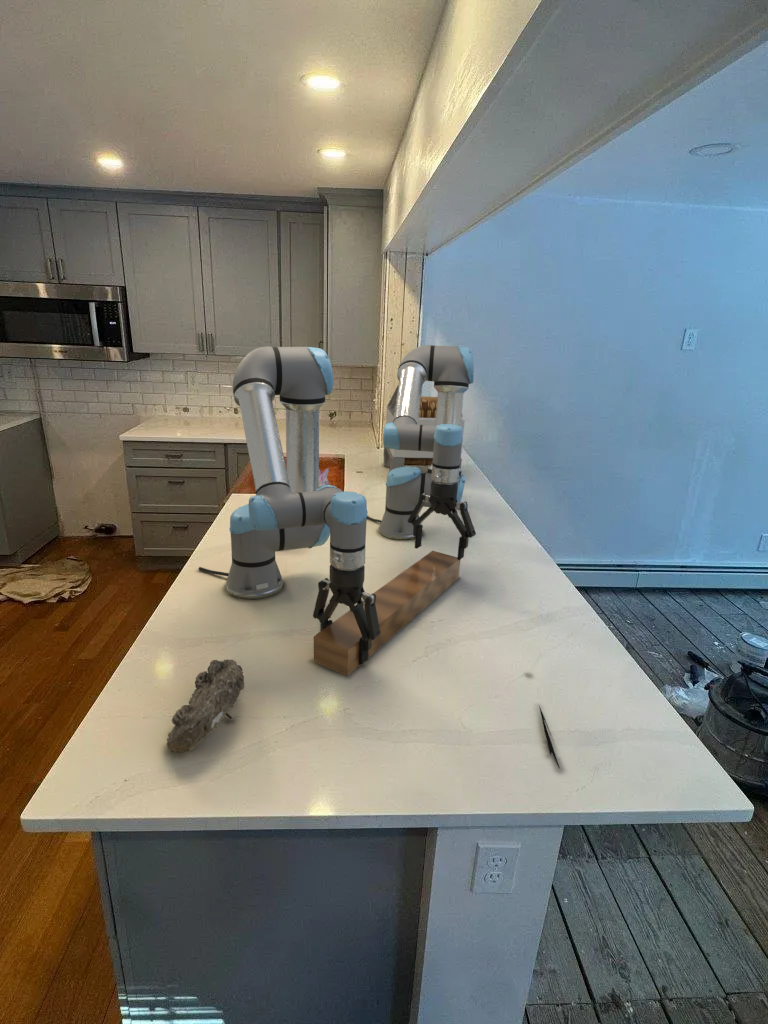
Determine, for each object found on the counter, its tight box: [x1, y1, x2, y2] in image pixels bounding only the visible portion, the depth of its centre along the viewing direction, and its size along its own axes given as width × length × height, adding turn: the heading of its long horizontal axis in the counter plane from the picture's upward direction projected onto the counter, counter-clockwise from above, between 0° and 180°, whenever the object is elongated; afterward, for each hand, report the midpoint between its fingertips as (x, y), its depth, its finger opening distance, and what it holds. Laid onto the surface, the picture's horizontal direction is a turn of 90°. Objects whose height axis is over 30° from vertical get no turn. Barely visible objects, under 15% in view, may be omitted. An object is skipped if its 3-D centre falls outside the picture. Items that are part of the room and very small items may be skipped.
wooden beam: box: [313, 550, 461, 677], centre depth 146 cm, size 58×9×7 cm, turn 149°
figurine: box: [319, 467, 330, 488], centre depth 222 cm, size 9×10×15 cm
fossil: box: [166, 658, 245, 754], centre depth 106 cm, size 22×10×15 cm
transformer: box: [383, 385, 465, 472], centre depth 268 cm, size 34×33×41 cm
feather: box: [528, 673, 561, 769], centre depth 112 cm, size 2×28×2 cm
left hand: (345, 654), depth 129 cm, fingers closed on wooden beam, 9 cm apart
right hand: (438, 552), depth 163 cm, fingers open, 13 cm apart
